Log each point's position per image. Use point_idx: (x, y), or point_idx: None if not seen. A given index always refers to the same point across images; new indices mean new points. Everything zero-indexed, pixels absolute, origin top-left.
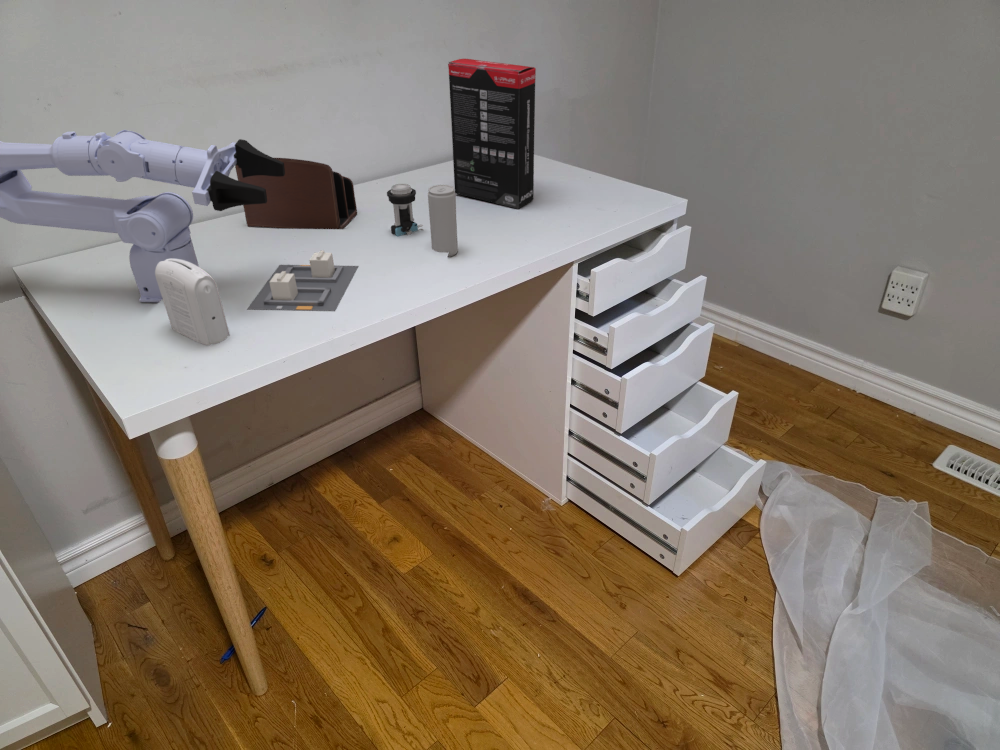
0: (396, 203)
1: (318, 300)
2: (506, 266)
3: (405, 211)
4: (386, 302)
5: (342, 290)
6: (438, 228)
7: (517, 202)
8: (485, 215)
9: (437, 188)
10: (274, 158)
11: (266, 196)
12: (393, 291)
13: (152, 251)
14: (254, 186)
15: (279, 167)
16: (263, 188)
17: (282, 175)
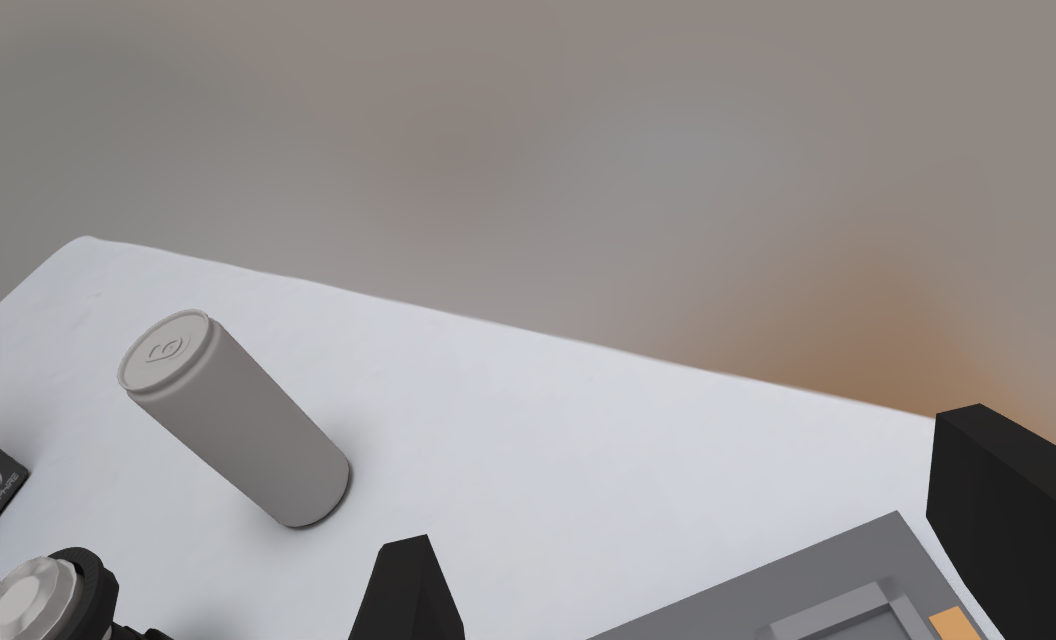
0: (110, 616)
1: (863, 635)
2: (386, 316)
3: (119, 627)
4: (697, 446)
5: (727, 595)
6: (292, 420)
7: (13, 462)
8: (49, 534)
9: (150, 366)
10: (361, 618)
11: (933, 476)
12: (615, 473)
13: None
14: (1036, 464)
15: (439, 591)
16: (951, 423)
17: (460, 633)
